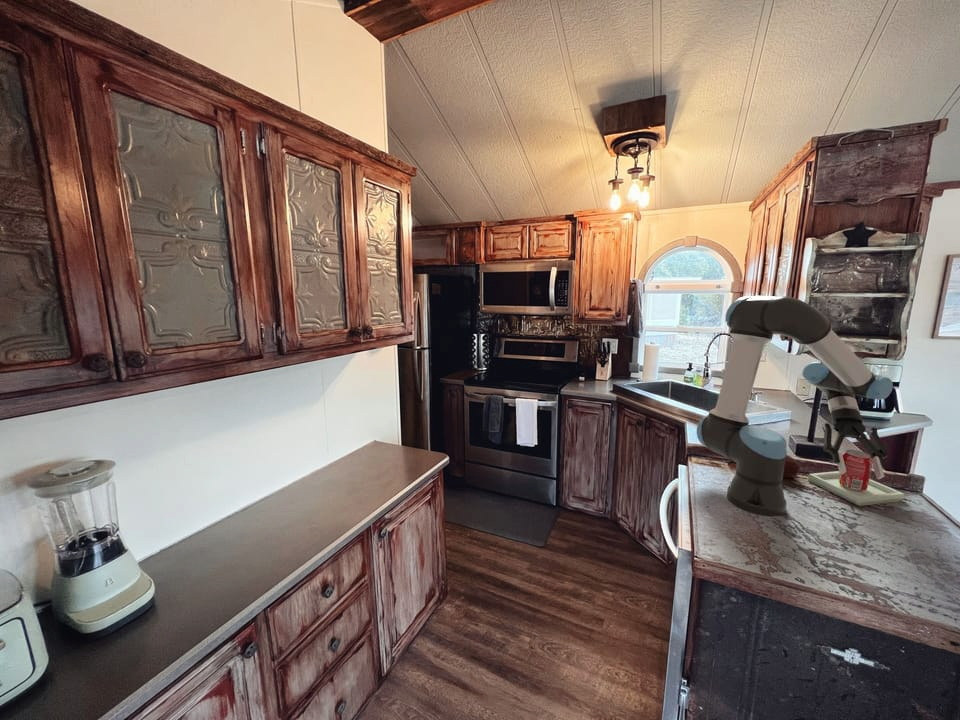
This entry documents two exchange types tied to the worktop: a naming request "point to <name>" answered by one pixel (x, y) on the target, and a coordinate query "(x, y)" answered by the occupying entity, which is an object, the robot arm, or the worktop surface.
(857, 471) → the soda can
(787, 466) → the potato
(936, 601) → the worktop surface
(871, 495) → the tray
